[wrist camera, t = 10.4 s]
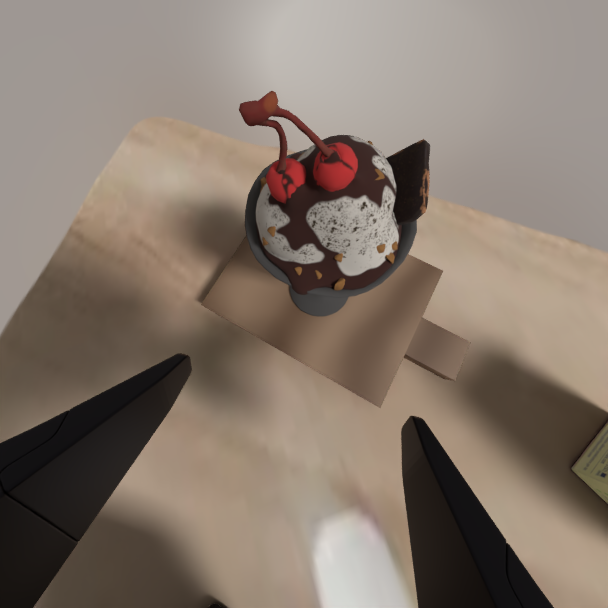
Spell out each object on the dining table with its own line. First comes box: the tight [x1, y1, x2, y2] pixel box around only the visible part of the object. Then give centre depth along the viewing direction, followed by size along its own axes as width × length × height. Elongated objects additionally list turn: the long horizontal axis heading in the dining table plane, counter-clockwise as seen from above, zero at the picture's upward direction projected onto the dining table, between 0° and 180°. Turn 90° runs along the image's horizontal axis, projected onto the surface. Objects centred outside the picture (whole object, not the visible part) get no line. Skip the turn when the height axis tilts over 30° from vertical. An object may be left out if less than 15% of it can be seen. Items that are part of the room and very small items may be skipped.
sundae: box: [239, 91, 430, 316], centre depth 11 cm, size 7×7×15 cm
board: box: [201, 235, 471, 408], centre depth 19 cm, size 20×12×2 cm, turn 61°
